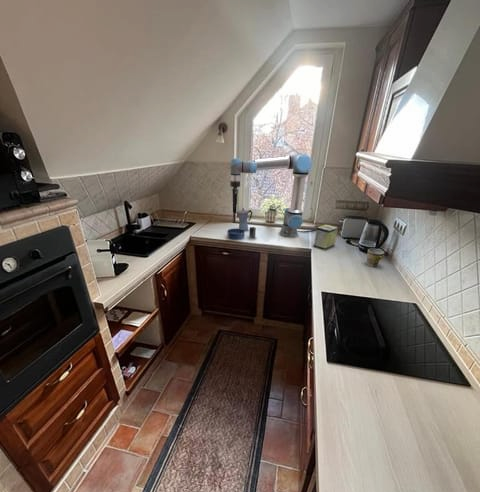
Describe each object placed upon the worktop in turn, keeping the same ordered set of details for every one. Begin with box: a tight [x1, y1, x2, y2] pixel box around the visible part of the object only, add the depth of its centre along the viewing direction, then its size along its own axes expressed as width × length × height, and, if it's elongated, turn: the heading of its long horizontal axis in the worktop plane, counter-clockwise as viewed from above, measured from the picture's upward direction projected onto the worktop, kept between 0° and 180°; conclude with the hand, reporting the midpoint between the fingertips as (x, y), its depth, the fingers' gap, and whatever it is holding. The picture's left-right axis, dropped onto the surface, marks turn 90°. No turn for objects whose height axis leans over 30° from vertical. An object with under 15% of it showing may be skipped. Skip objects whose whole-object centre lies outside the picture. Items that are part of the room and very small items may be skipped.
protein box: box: [313, 223, 339, 251], centre depth 201 cm, size 10×16×16 cm
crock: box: [248, 226, 257, 239], centre depth 214 cm, size 5×5×9 cm
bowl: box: [226, 228, 246, 241], centre depth 214 cm, size 14×14×6 cm
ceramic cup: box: [365, 248, 385, 268], centre depth 172 cm, size 13×10×10 cm
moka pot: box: [236, 208, 253, 232], centre depth 229 cm, size 10×15×20 cm, turn 115°
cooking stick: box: [232, 212, 237, 224], centre depth 204 cm, size 2×2×18 cm
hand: (234, 212), depth 205 cm, fingers closed on cooking stick, 2 cm apart
